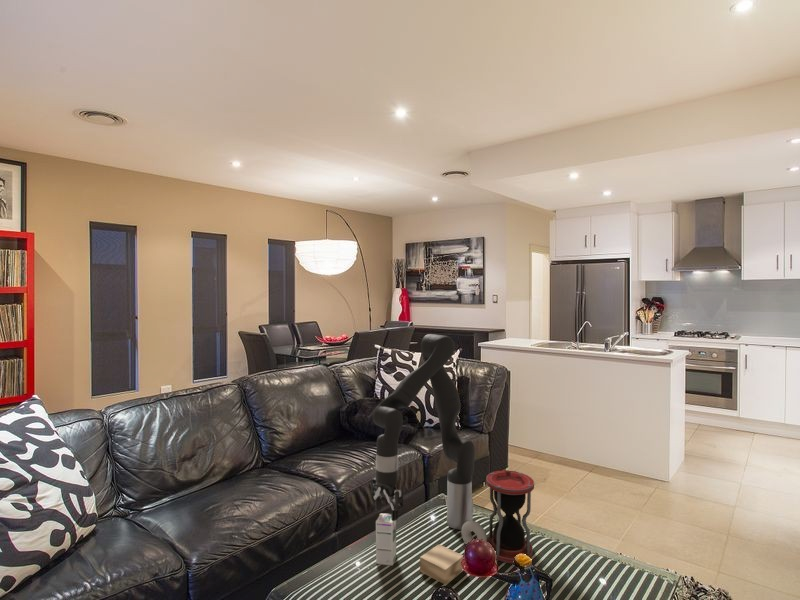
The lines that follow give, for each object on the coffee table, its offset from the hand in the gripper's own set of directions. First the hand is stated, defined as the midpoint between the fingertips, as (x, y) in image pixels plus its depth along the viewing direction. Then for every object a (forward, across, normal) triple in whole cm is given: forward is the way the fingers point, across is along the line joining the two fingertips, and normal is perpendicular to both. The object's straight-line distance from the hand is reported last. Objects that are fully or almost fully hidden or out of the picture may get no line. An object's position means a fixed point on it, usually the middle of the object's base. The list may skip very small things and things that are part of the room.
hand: (386, 515), depth 159 cm
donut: (+15, -15, -27) cm, 35 cm away
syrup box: (+16, 0, 0) cm, 16 cm away
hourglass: (+15, -23, -36) cm, 46 cm away
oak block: (+16, -16, -10) cm, 25 cm away
